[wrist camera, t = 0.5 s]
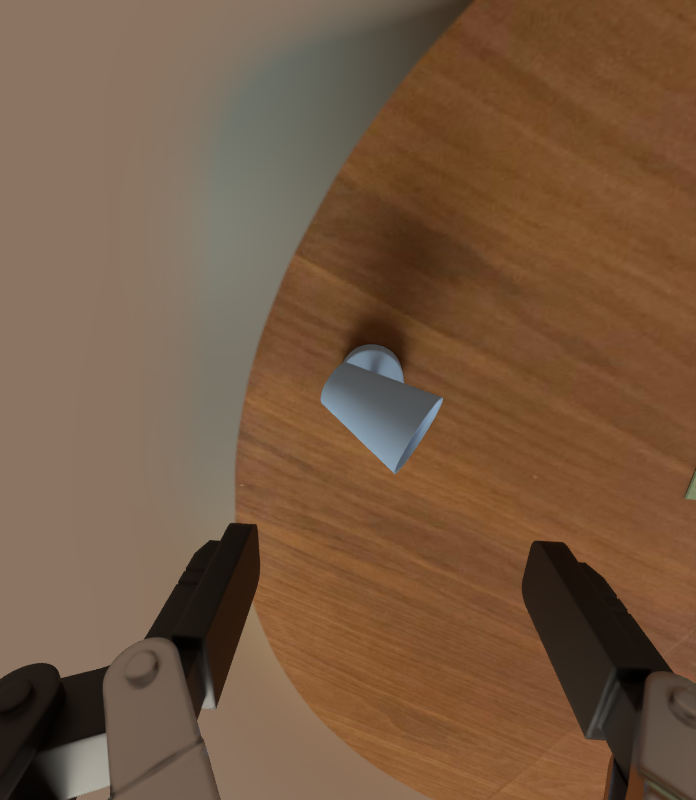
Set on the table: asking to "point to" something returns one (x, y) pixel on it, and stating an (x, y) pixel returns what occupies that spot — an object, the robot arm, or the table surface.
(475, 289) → the table surface
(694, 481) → the mat
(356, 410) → the spotlight
